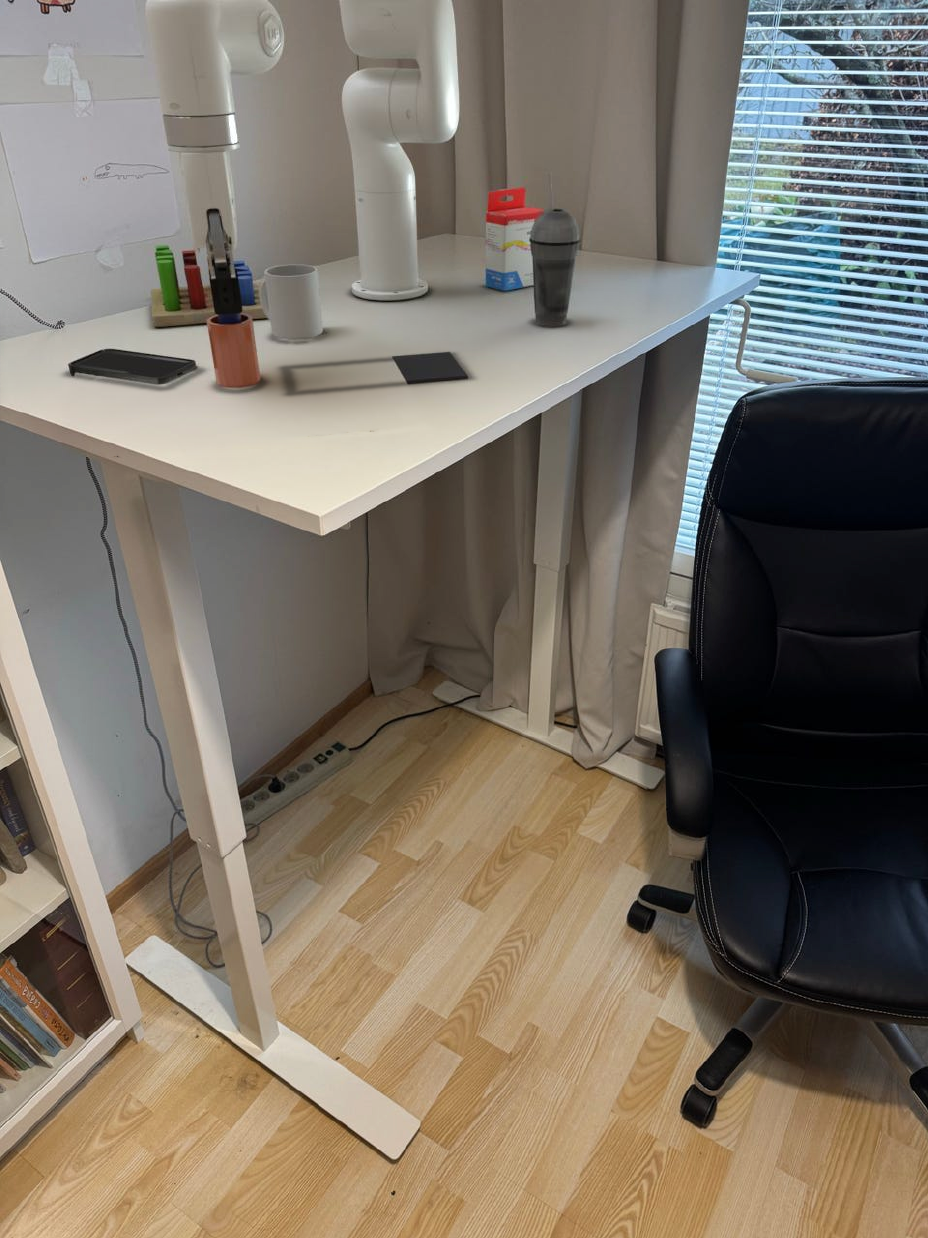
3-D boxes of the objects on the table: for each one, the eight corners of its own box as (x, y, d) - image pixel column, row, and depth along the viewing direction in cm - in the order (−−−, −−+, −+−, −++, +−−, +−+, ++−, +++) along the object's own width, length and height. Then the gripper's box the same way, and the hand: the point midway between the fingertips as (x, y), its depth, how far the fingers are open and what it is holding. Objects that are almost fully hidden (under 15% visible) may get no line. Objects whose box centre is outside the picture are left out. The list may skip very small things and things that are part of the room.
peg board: (273, 318, 135) (266, 258, 130) (154, 328, 131) (142, 267, 126) (260, 290, 149) (253, 235, 144) (152, 299, 145) (141, 243, 140)
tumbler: (217, 379, 112) (206, 314, 108) (259, 375, 113) (251, 311, 109) (217, 393, 108) (206, 326, 103) (262, 389, 109) (253, 323, 104)
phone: (105, 347, 119) (199, 360, 114) (107, 356, 120) (200, 368, 115) (63, 365, 113) (160, 379, 108) (65, 374, 114) (161, 388, 109)
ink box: (503, 292, 147) (505, 194, 139) (484, 286, 151) (485, 191, 142) (541, 284, 152) (545, 189, 144) (522, 278, 155) (524, 185, 147)
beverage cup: (572, 330, 129) (582, 177, 118) (522, 328, 130) (527, 176, 119) (577, 317, 135) (587, 170, 124) (529, 314, 136) (535, 169, 125)
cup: (299, 346, 123) (292, 278, 118) (247, 334, 128) (238, 269, 123) (333, 333, 128) (328, 268, 123) (282, 322, 133) (275, 259, 128)
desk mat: (284, 367, 116) (284, 364, 115) (449, 354, 120) (449, 351, 120) (291, 393, 108) (291, 390, 107) (467, 378, 112) (467, 375, 112)
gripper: (167, 126, 101) (196, 294, 111) (163, 143, 88) (195, 331, 98) (235, 124, 102) (257, 290, 113) (240, 140, 89) (264, 326, 100)
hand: (228, 307), depth 105 cm, fingers closed on marker, 2 cm apart
